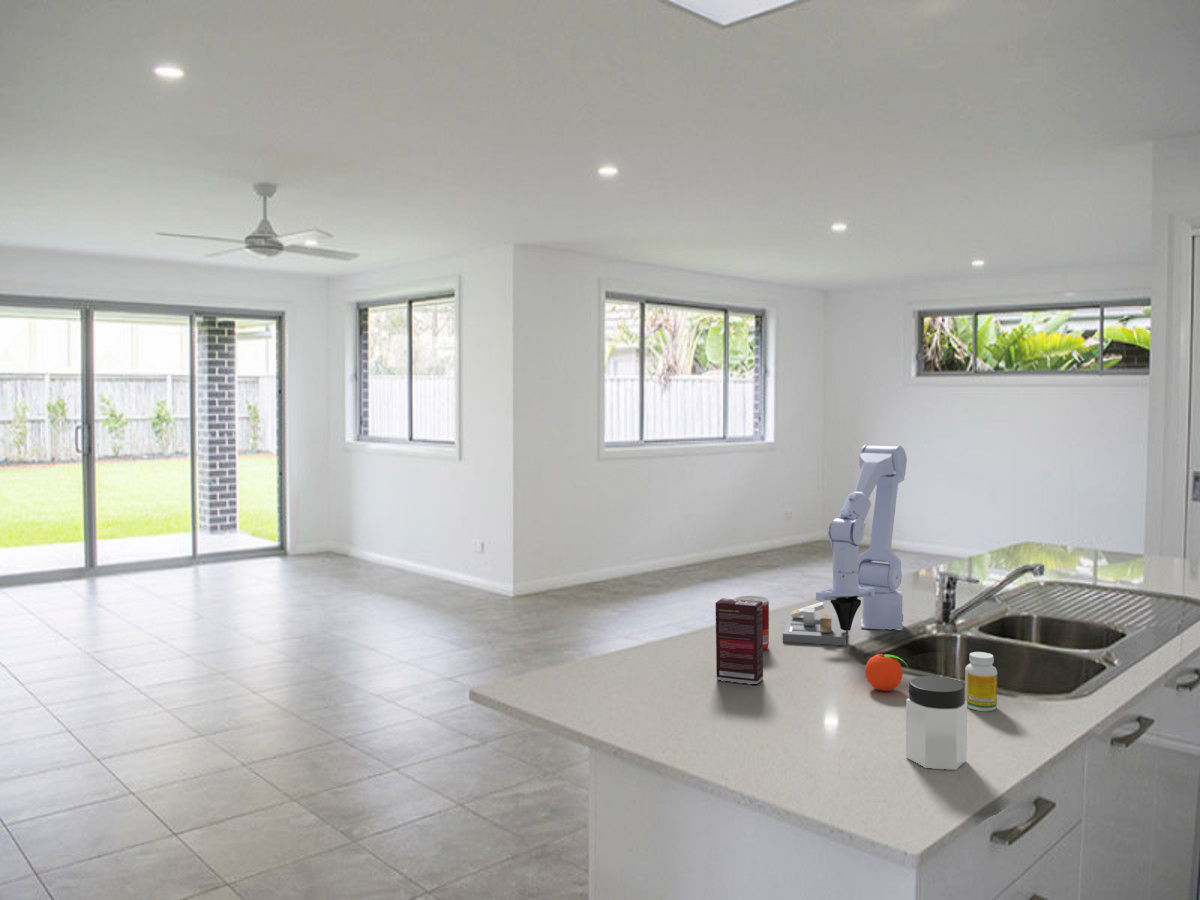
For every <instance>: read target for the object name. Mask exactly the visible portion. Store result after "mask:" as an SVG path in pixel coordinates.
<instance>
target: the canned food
mask: <svg viewBox="0 0 1200 900" xmlns="http://www.w3.org/2000/svg"><path fill="white" fill-rule="evenodd" d="M734 599H738V600H750V601H762V618H763V652H765V651H766V649H767V648H768V649H769V645H770V641H769V639H770V637H769V636H770V632H769V631H770V607H769V606H770V603H769V602H770V601H769V599H768V598H766V597H763V596H759V595H757V596H756V595H742V596H737V597H736V598H734ZM768 649H767V650H768ZM764 650H765V651H764Z"/></svg>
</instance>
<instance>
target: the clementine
mask: <svg viewBox="0 0 1200 900" xmlns="http://www.w3.org/2000/svg"><path fill="white" fill-rule="evenodd" d="M898 660H900V661H902V662H903V664H905V665H906V667H907V668H909V667H908V664H907V663H906V662H905V661H904V660H903V659H902V658H900V657H899V656H897V655H893V654H886V653H878V654H875V655H874V656H872V657H870V658H869V659H868V661H867V662H866V665H865V668H864V673H865V678H866V680H867V682H868V683H869V685H870V686H871V687H873V688H874V689H875V690H879V691H882V692H889V691H893V690H894V689H896V688H897V687H898V686H899V685H900V684H901V682H902V680H903V675H904V673H903V668H902V665H901V663H900V662H899V661H898Z"/></svg>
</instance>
